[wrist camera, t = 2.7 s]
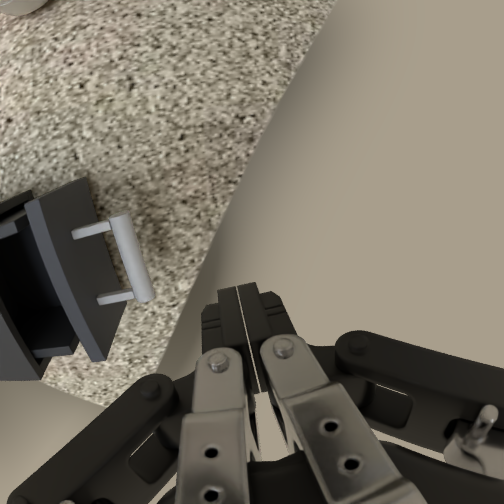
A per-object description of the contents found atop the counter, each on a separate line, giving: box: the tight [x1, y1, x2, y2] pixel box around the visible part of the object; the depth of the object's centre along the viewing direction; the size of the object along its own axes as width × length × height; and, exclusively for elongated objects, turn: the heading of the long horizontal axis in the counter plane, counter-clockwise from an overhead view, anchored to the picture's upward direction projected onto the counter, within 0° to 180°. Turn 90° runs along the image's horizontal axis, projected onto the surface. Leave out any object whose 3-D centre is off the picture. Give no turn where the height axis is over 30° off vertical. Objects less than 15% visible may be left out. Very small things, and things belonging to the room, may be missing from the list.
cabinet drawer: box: [0, 177, 156, 362], centre depth 19 cm, size 17×11×8 cm
